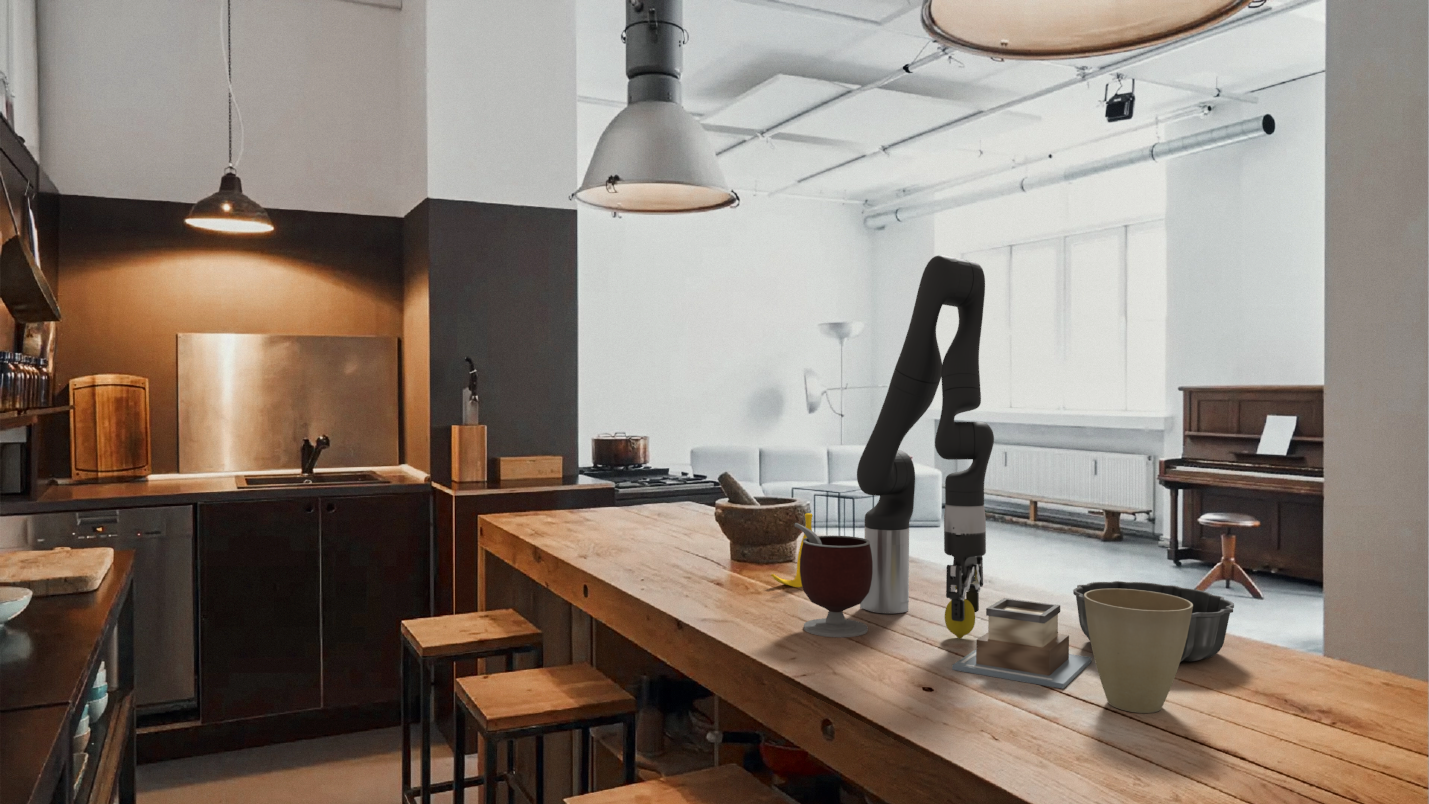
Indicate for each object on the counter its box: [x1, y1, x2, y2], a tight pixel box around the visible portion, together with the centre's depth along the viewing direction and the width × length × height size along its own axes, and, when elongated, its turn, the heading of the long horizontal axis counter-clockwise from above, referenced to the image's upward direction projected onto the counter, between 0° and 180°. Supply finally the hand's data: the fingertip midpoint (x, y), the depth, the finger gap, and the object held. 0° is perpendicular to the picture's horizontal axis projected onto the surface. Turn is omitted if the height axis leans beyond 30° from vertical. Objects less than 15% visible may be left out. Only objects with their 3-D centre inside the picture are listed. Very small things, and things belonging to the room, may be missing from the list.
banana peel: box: [770, 512, 813, 588], centre depth 235 cm, size 17×19×17 cm
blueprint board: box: [951, 649, 1092, 690], centre depth 169 cm, size 18×18×1 cm
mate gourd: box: [793, 522, 873, 638], centre depth 193 cm, size 16×14×20 cm
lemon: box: [944, 598, 976, 639], centre depth 186 cm, size 6×6×8 cm
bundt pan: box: [1072, 580, 1235, 663], centre depth 179 cm, size 26×26×10 cm
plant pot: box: [1084, 589, 1193, 714], centre depth 149 cm, size 15×15×16 cm
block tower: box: [975, 597, 1070, 676], centre depth 169 cm, size 12×12×9 cm
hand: (965, 616), depth 186 cm, fingers open, 8 cm apart
